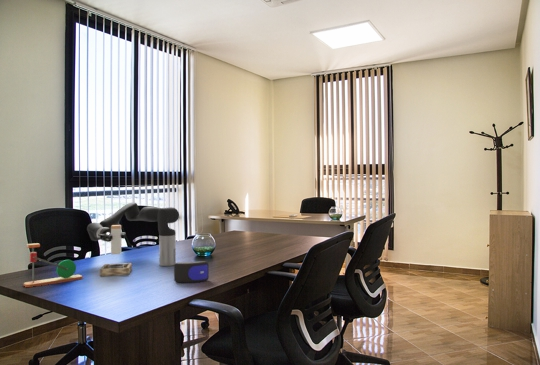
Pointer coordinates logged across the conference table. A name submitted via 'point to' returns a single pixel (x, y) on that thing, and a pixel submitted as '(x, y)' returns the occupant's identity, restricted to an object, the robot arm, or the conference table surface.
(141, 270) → the conference table surface
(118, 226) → the white orange-topped block
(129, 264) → the box
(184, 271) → the portable speaker
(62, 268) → the crank mechanism
